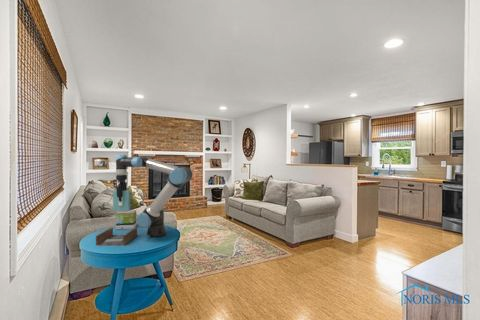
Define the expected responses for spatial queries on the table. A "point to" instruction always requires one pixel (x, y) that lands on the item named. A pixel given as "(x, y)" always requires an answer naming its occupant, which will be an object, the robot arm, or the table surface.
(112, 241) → the offcut upper
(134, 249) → the table surface
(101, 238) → the rack
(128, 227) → the tea box
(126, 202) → the teal rectangular slab
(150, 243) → the table surface
